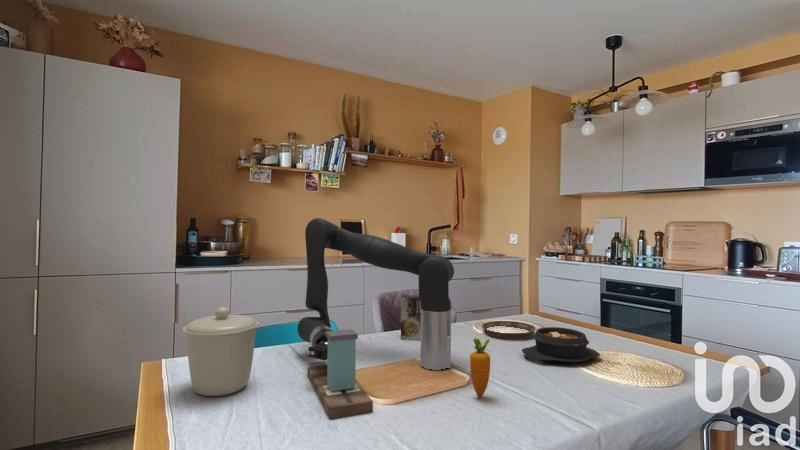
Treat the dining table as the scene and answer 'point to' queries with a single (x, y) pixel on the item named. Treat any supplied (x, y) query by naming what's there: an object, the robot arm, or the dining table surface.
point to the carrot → (480, 367)
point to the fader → (341, 359)
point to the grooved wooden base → (339, 396)
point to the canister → (220, 352)
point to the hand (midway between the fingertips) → (339, 359)
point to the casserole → (560, 346)
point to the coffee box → (410, 317)
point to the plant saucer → (509, 324)
